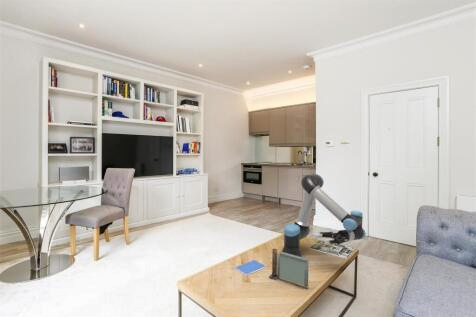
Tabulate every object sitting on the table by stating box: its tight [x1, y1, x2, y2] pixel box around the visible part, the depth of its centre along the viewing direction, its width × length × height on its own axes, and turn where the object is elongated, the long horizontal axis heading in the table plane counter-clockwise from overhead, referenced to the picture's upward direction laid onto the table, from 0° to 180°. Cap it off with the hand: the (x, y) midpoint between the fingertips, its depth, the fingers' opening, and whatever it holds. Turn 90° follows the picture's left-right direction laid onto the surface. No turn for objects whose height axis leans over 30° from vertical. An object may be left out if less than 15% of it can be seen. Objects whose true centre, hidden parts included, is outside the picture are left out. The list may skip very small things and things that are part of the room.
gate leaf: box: [277, 251, 310, 288], centre depth 145 cm, size 20×3×16 cm, turn 55°
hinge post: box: [268, 248, 280, 281], centre depth 152 cm, size 5×5×18 cm
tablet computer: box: [234, 259, 267, 276], centre depth 165 cm, size 19×13×1 cm, turn 130°
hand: (319, 239), depth 154 cm, fingers open, 9 cm apart
